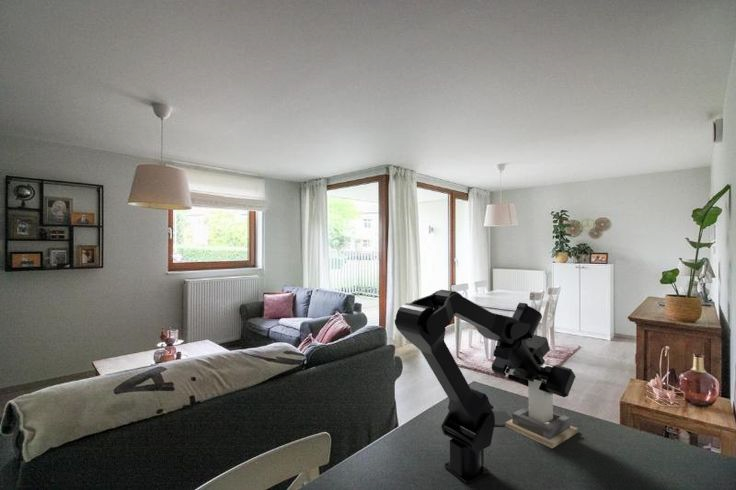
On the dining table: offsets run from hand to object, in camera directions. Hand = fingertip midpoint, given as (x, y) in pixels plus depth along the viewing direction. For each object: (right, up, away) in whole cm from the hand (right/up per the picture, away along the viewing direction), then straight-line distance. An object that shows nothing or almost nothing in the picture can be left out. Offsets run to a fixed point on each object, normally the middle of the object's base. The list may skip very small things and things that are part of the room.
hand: (543, 390), depth 89 cm
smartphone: (-14, -10, +5) cm, 17 cm away
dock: (-1, -9, -1) cm, 10 cm away
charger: (-1, -7, -1) cm, 7 cm away
